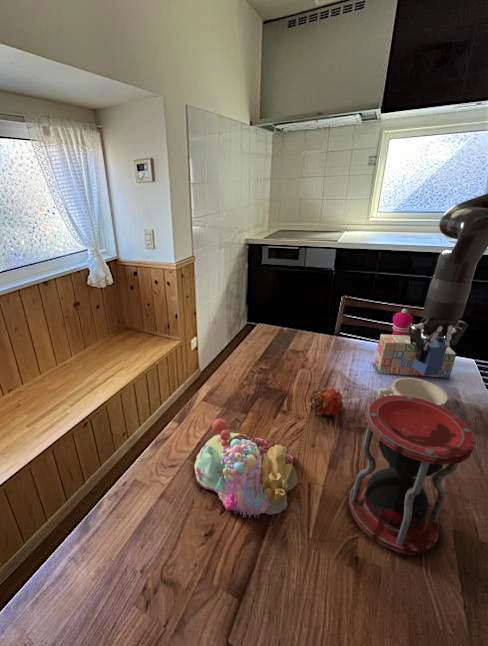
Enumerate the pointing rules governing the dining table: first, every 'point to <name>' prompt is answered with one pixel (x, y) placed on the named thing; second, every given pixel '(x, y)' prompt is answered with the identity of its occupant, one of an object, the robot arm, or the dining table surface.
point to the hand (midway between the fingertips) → (428, 359)
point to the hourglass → (407, 471)
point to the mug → (416, 390)
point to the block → (431, 359)
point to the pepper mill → (401, 322)
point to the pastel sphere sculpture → (245, 471)
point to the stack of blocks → (406, 357)
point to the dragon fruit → (326, 402)
